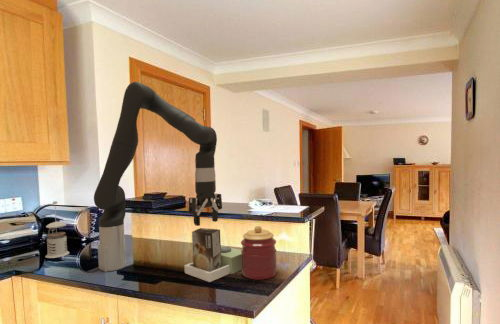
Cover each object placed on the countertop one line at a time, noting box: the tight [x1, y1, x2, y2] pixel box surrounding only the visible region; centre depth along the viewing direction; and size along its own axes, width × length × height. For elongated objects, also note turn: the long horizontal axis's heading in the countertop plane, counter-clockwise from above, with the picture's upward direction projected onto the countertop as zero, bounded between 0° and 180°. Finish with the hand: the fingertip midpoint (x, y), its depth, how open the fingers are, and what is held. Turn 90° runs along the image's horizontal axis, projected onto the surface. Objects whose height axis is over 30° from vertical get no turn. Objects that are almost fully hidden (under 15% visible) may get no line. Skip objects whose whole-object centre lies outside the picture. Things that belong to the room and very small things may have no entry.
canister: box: [240, 225, 278, 281], centre depth 116 cm, size 13×13×18 cm
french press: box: [44, 200, 70, 259], centre depth 148 cm, size 10×12×25 cm
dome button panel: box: [184, 244, 242, 283], centre depth 121 cm, size 19×16×7 cm
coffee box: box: [191, 227, 222, 272], centre depth 118 cm, size 9×6×16 cm
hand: (206, 223), depth 118 cm, fingers open, 8 cm apart
